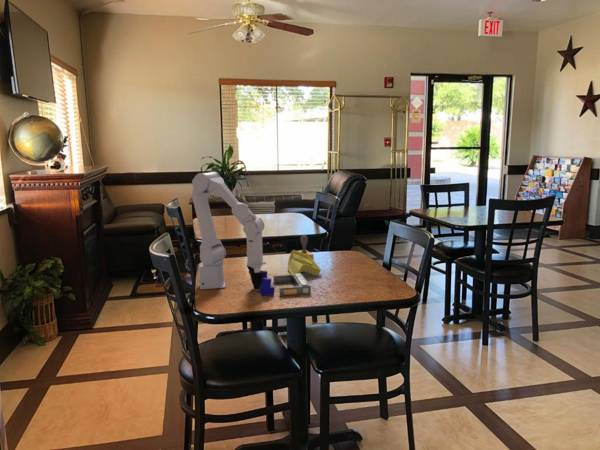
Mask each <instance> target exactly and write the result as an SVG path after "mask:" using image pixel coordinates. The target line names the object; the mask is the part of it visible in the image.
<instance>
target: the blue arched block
mask: <svg viewBox="0 0 600 450" xmlns="http://www.w3.org/2000/svg"><path fill="white" fill-rule="evenodd" d="M260 271H264V272H265V273H264V275H263V277H262V281H261V287H260V289H259V291H260V294H261V296H274V295H275V286H274V285H275V284H273V285H272V278H271V277H268V270H262V269H260Z"/></svg>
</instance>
